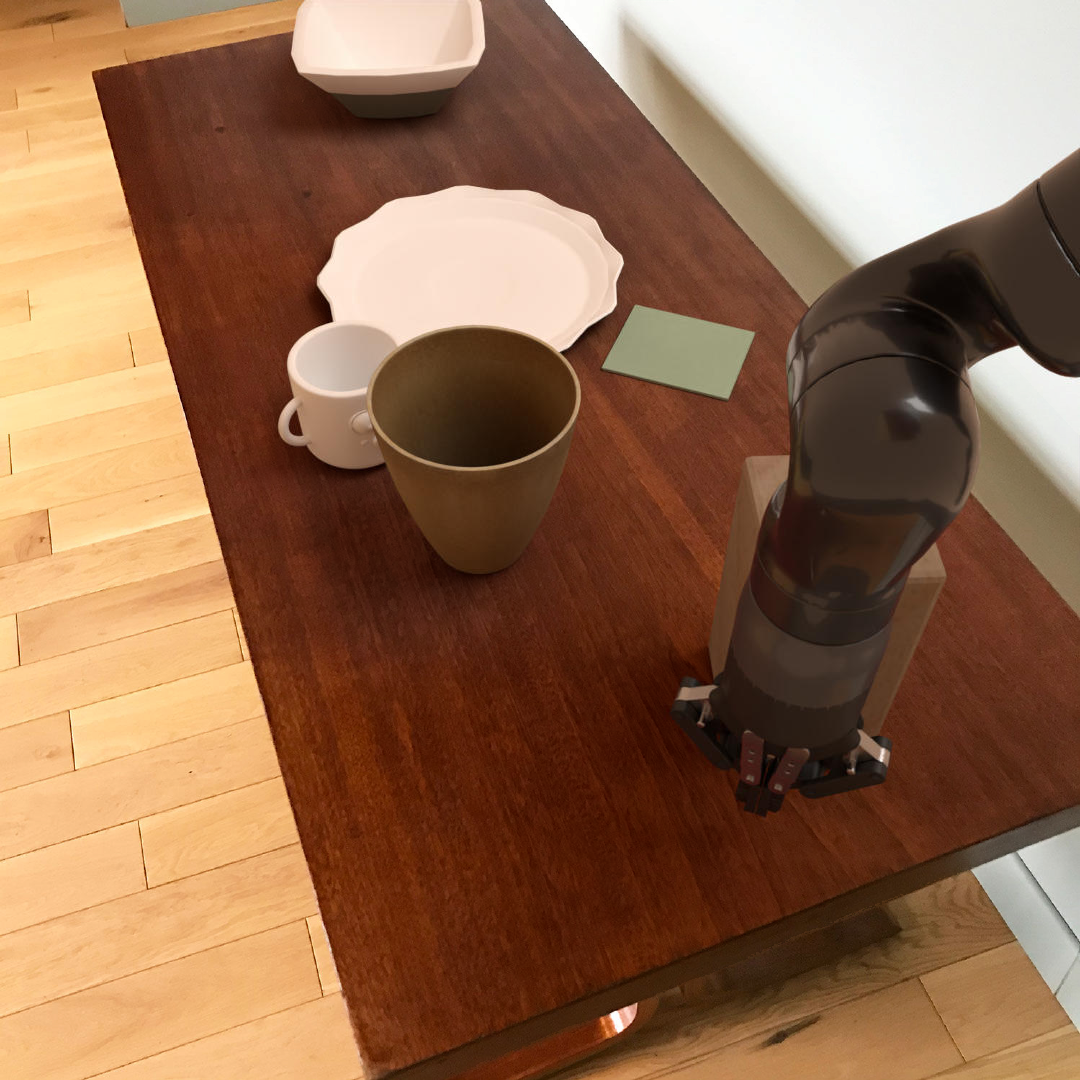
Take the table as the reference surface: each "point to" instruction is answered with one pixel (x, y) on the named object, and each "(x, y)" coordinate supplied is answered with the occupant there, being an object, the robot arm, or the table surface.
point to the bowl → (388, 52)
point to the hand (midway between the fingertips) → (758, 801)
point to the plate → (474, 266)
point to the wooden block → (749, 509)
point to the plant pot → (475, 437)
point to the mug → (336, 391)
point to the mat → (679, 352)
